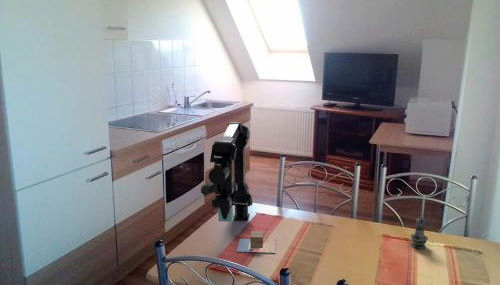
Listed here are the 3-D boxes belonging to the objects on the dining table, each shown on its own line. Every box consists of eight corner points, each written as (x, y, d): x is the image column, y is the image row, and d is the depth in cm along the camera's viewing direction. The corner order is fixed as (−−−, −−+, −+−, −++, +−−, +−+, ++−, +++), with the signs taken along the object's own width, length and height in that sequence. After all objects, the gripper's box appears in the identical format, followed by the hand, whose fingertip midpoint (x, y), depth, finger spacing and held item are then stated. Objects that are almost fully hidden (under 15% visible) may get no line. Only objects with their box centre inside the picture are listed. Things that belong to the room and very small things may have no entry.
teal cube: (220, 216, 153) (220, 204, 152) (232, 216, 152) (232, 205, 151) (218, 221, 148) (218, 209, 147) (231, 221, 148) (230, 210, 147)
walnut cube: (251, 242, 156) (251, 231, 155) (263, 242, 155) (263, 231, 154) (250, 248, 152) (250, 236, 151) (262, 248, 151) (262, 237, 150)
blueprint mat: (240, 239, 159) (240, 238, 159) (276, 240, 158) (276, 239, 158) (236, 252, 150) (236, 251, 149) (275, 253, 148) (275, 252, 148)
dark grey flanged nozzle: (426, 243, 154) (429, 213, 151) (427, 251, 149) (430, 220, 146) (409, 241, 156) (412, 211, 153) (410, 248, 150) (412, 218, 148)
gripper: (207, 166, 156) (209, 205, 160) (196, 183, 138) (198, 226, 142) (237, 167, 155) (237, 206, 159) (229, 184, 137) (230, 227, 141)
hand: (225, 216), depth 150 cm, fingers closed on teal cube, 4 cm apart
